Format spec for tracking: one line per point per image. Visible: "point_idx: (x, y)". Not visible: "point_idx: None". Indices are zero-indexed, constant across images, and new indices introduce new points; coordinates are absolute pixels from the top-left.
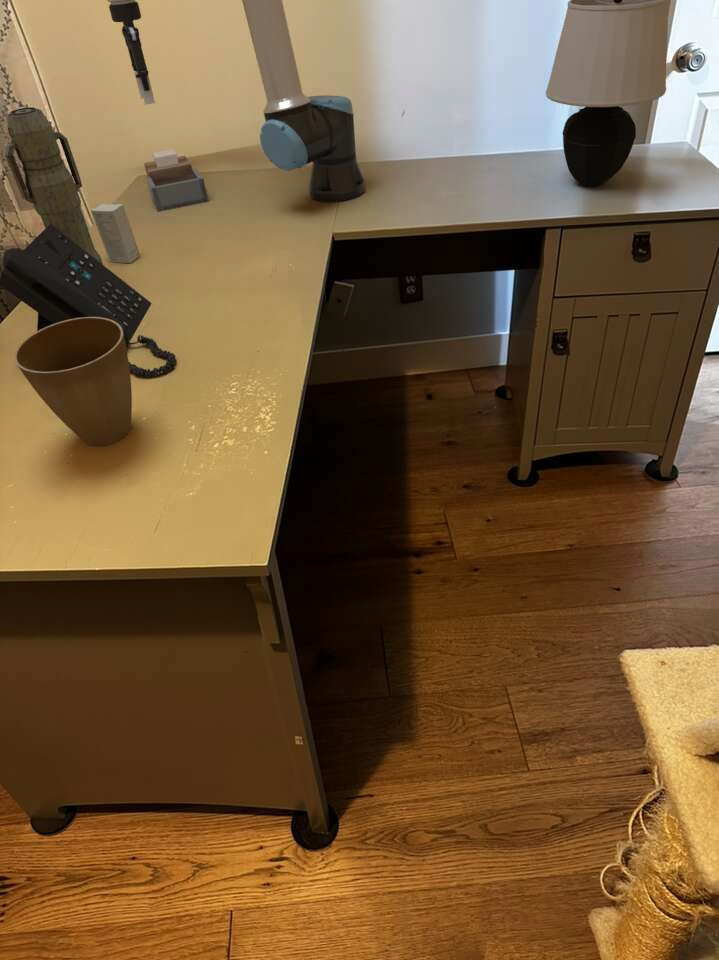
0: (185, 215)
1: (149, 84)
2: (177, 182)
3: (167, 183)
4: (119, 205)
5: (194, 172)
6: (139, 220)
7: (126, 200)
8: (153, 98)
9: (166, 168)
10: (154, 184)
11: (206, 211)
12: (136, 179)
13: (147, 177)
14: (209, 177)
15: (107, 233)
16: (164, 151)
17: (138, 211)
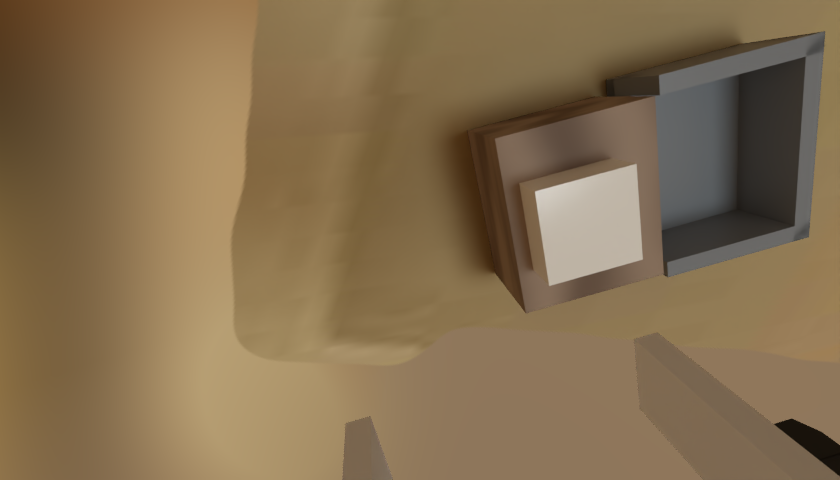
0: (824, 121)
1: (802, 459)
2: (803, 144)
3: None
4: None
5: (718, 78)
6: (778, 259)
7: (582, 329)
8: (686, 358)
9: (657, 205)
10: None
11: (833, 47)
12: (367, 340)
13: (669, 272)
14: (455, 48)
15: None
16: (558, 230)
17: (702, 275)
